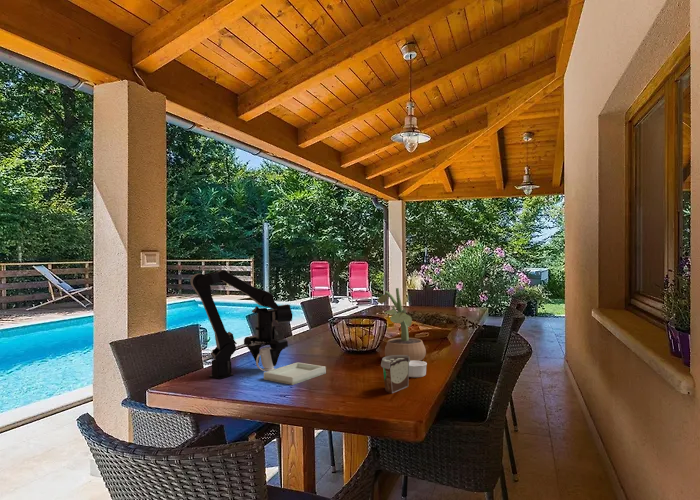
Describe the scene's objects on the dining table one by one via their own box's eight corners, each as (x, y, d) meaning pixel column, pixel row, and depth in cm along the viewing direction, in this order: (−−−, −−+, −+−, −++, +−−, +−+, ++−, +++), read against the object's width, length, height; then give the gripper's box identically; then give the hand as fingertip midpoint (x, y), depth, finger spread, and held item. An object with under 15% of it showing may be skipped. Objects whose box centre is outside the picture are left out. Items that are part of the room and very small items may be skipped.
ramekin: (400, 372, 176) (400, 360, 176) (424, 371, 176) (423, 359, 176) (404, 378, 167) (404, 366, 167) (429, 377, 167) (429, 365, 167)
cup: (281, 368, 185) (281, 347, 185) (263, 374, 177) (263, 352, 177) (268, 366, 189) (268, 346, 189) (250, 372, 181) (249, 350, 181)
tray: (292, 385, 162) (292, 377, 162) (263, 379, 170) (263, 372, 170) (325, 373, 176) (325, 366, 176) (297, 368, 184) (297, 362, 184)
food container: (395, 382, 162) (394, 353, 162) (410, 385, 158) (410, 355, 158) (373, 391, 152) (372, 360, 152) (389, 394, 148) (388, 362, 148)
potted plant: (391, 353, 208) (389, 285, 208) (431, 356, 200) (429, 285, 200) (370, 365, 188) (368, 289, 188) (413, 368, 180) (412, 289, 180)
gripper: (297, 322, 184) (298, 363, 184) (263, 319, 195) (264, 357, 195) (276, 326, 175) (277, 369, 175) (242, 323, 186) (243, 363, 186)
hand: (266, 364), depth 183 cm, fingers open, 9 cm apart
